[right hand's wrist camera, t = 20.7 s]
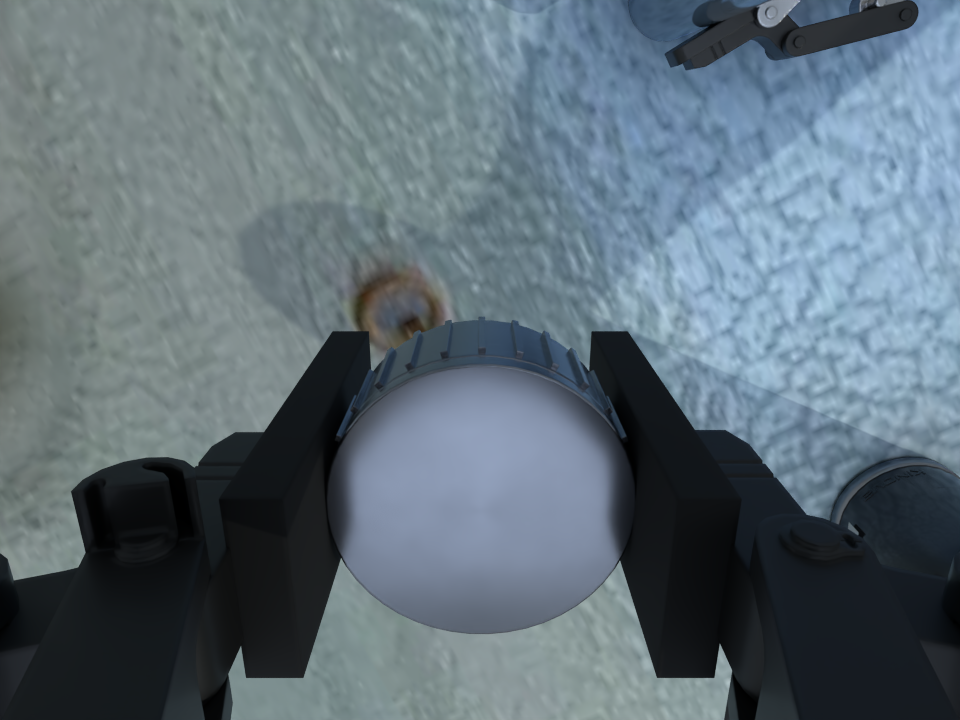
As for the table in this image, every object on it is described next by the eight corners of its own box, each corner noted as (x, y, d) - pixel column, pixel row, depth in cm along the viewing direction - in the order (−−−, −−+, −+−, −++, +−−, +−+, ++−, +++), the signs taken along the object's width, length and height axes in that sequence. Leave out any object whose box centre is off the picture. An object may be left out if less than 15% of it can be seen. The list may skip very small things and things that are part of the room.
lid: (363, 561, 13) (340, 645, 11) (329, 322, 11) (296, 367, 9) (612, 550, 13) (638, 632, 11) (617, 306, 11) (647, 349, 9)
